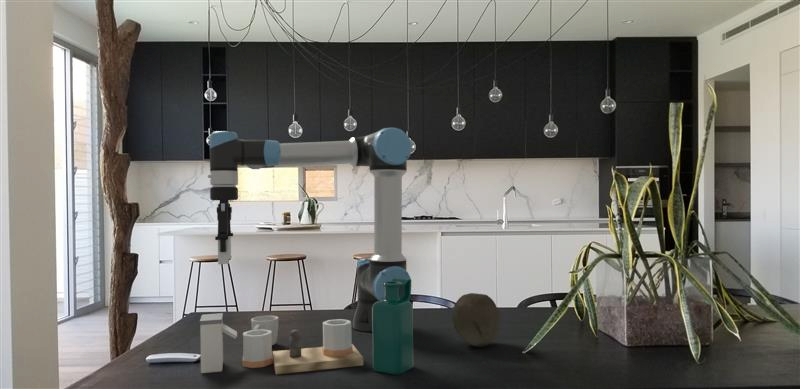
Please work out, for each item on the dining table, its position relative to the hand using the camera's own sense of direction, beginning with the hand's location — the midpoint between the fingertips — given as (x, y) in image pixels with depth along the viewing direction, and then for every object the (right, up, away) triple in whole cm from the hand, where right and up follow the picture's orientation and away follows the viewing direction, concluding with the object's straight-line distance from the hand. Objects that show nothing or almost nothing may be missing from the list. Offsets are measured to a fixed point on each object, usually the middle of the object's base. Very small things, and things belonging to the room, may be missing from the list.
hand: (224, 261), depth 155 cm
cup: (+9, -26, +6) cm, 28 cm away
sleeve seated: (+33, -23, -9) cm, 41 cm away
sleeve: (+12, -25, -11) cm, 30 cm away
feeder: (+3, -26, -13) cm, 29 cm away
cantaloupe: (+72, -25, +3) cm, 76 cm away
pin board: (+28, -25, -11) cm, 39 cm away
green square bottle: (+48, -25, -17) cm, 57 cm away
